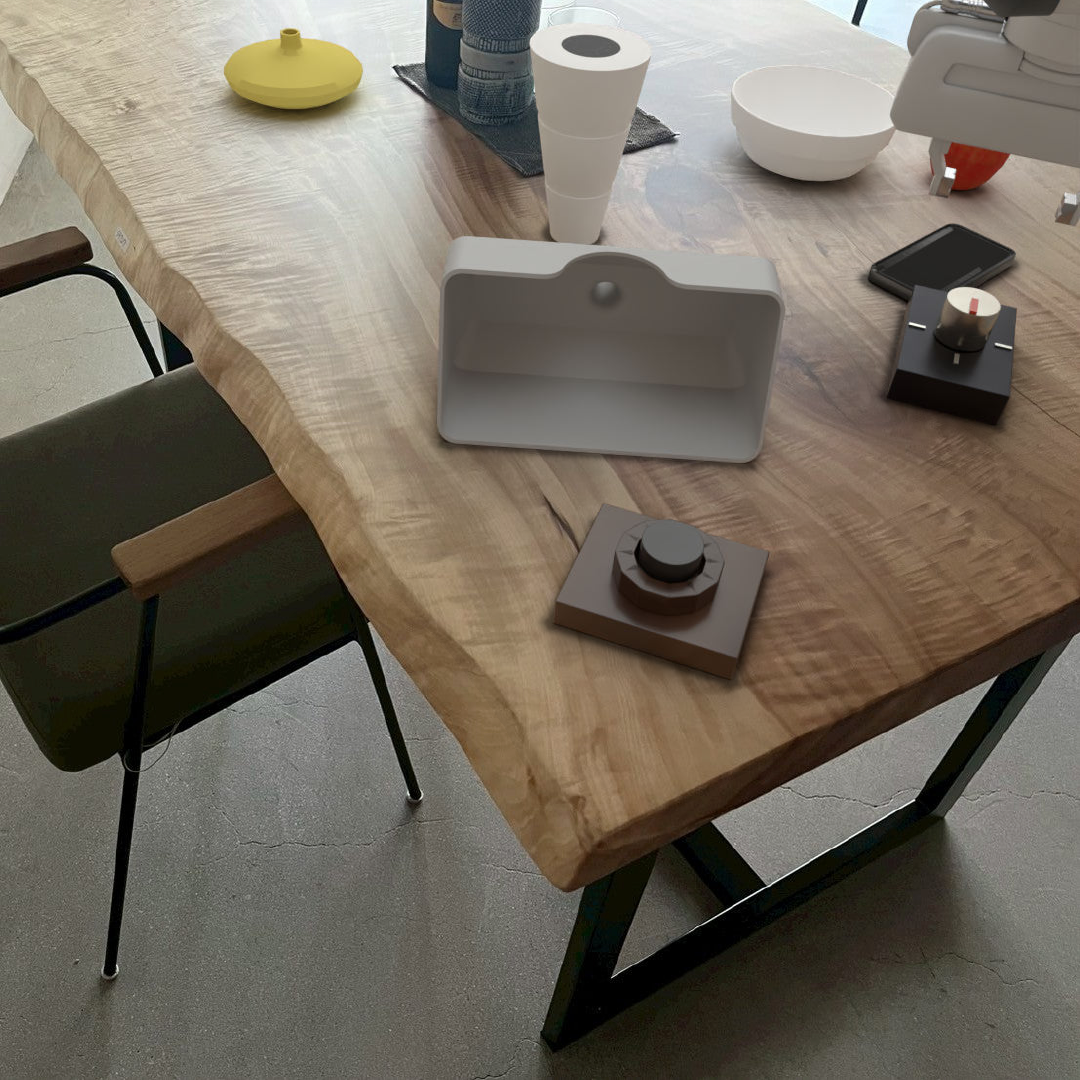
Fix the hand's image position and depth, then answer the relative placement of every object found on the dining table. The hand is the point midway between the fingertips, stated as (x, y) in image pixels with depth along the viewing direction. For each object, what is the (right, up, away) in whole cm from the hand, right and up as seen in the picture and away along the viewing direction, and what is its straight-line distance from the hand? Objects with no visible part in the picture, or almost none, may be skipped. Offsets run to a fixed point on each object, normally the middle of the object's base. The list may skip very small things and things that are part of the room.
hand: (1000, 207), depth 80 cm
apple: (+11, +14, +36) cm, 40 cm away
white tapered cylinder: (-32, +5, +24) cm, 40 cm away
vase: (-64, +27, +43) cm, 81 cm away
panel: (0, -10, +11) cm, 15 cm away
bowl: (-6, +17, +38) cm, 41 cm away
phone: (+4, +1, +23) cm, 23 cm away
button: (-27, -27, -12) cm, 40 cm away
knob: (+1, -8, +9) cm, 12 cm away
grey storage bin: (-30, -13, +6) cm, 34 cm away
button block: (-27, -29, -9) cm, 41 cm away
